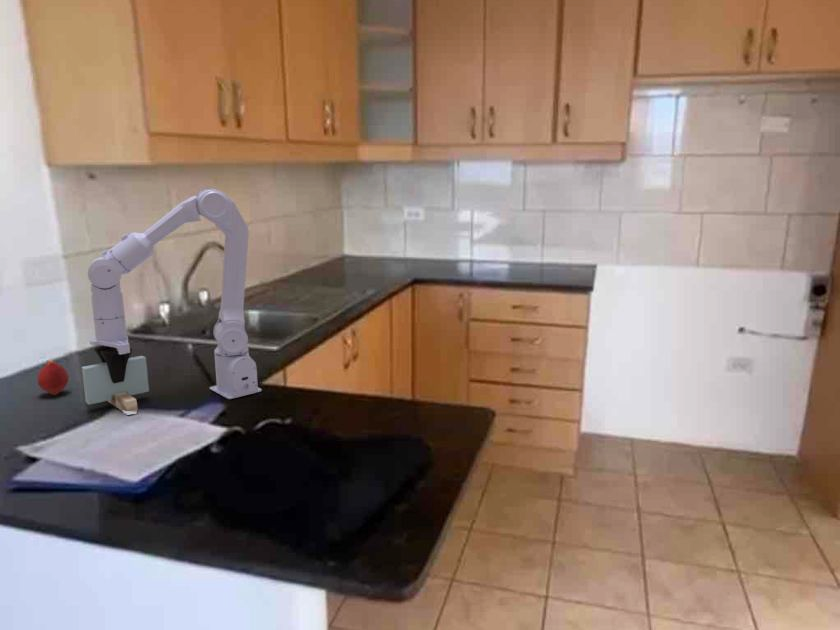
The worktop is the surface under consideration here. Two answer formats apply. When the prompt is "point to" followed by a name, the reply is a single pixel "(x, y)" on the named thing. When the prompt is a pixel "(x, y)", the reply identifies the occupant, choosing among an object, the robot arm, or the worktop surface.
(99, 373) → the teal plate
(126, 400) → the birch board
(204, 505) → the worktop surface
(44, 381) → the onion
